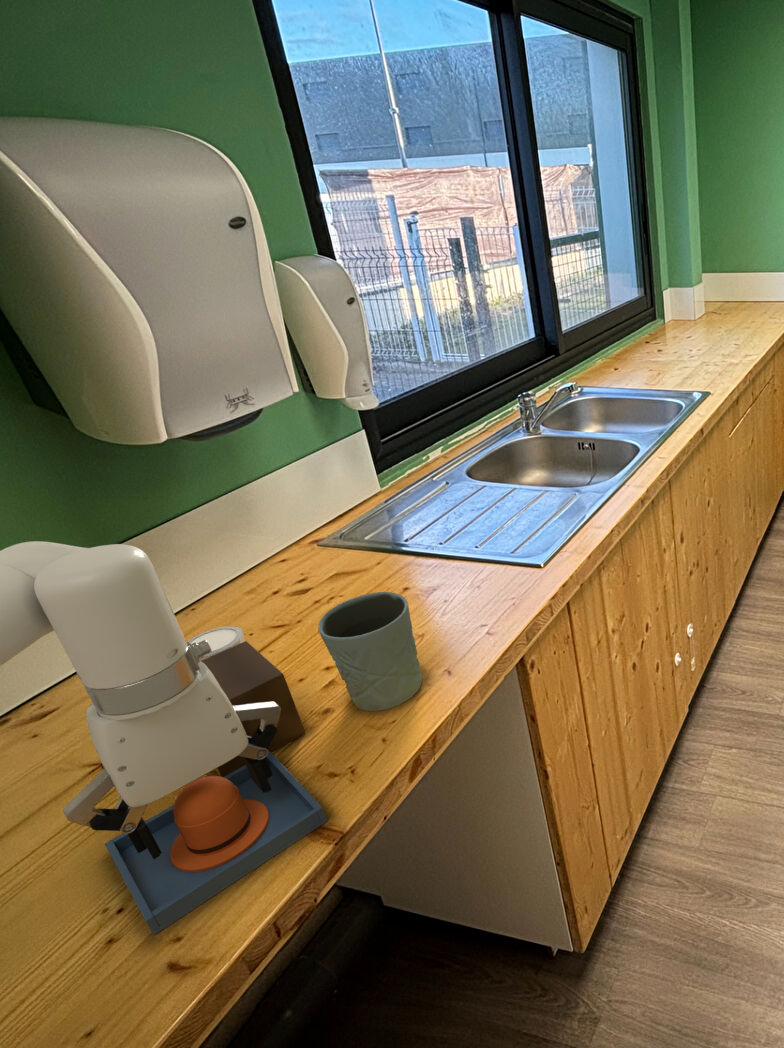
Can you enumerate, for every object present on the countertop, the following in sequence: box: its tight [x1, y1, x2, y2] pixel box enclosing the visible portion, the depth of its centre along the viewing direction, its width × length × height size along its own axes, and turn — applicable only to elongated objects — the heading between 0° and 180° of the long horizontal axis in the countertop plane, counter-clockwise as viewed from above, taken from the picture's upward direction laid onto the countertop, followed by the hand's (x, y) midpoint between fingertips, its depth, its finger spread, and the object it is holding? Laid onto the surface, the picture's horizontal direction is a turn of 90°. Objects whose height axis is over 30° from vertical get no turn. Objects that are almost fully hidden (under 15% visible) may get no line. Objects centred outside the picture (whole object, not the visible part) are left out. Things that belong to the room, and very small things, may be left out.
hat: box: [170, 775, 269, 872], centre depth 69 cm, size 8×8×7 cm
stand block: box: [201, 640, 306, 777], centre depth 83 cm, size 9×11×9 cm
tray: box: [104, 751, 329, 936], centre depth 71 cm, size 15×13×2 cm
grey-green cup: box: [317, 591, 423, 712], centre depth 89 cm, size 10×10×12 cm
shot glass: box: [187, 625, 246, 661], centre depth 92 cm, size 7×7×7 cm
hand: (210, 816), depth 70 cm, fingers open, 9 cm apart
